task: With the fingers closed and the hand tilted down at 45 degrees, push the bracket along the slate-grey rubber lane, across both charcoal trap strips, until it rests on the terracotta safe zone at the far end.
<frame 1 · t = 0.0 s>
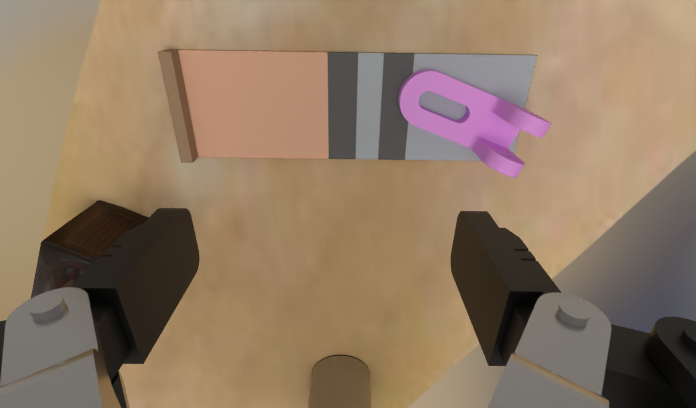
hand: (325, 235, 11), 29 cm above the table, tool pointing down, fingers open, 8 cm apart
pepper mill: (139, 231, 46), on the table
lane: (342, 108, 38), on the table
bracket: (456, 110, 38), touching lane
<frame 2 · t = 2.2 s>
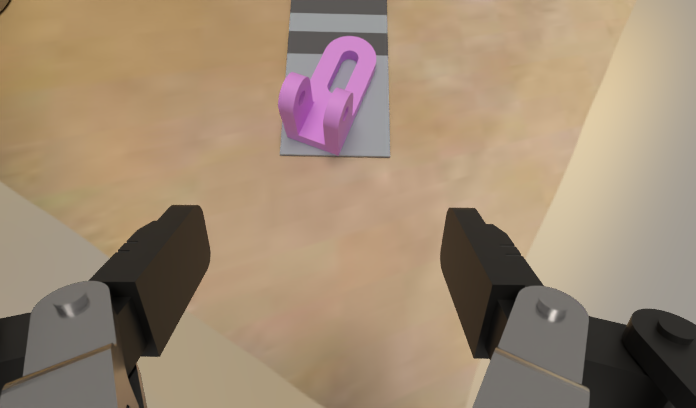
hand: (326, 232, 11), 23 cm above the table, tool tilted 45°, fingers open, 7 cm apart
lane: (339, 5, 42), on the table
bracket: (336, 95, 39), touching lane
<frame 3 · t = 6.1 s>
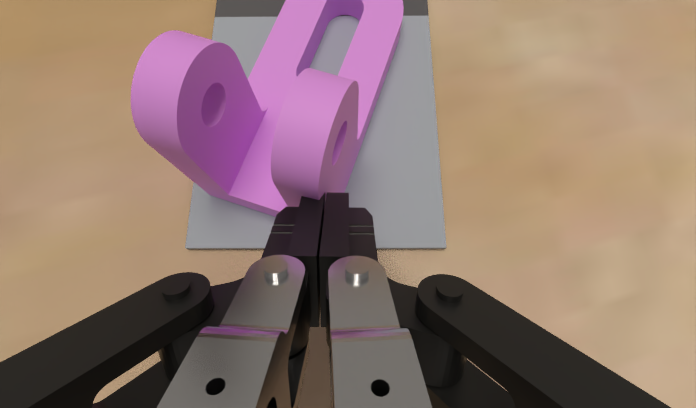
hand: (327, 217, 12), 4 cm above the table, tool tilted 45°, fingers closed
bracket: (320, 92, 18), touching gripper
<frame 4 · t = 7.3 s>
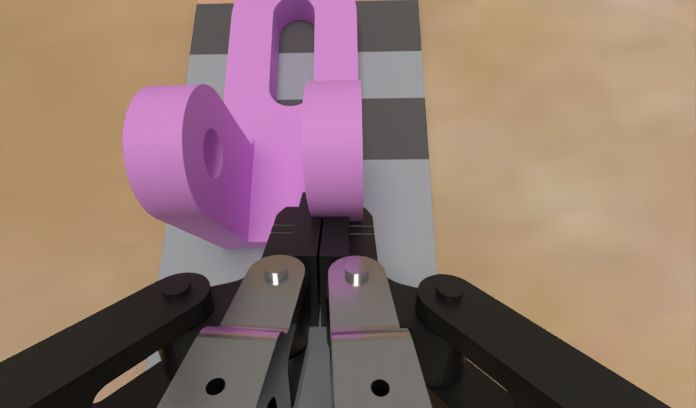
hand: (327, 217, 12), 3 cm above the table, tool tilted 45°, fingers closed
lane: (306, 31, 18), on the table
bracket: (297, 106, 17), touching gripper
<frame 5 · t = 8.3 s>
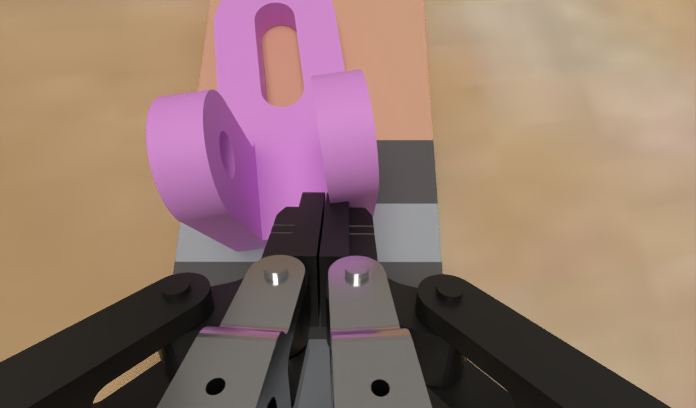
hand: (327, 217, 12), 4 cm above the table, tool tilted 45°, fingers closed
lane: (311, 173, 16), on the table
bracket: (288, 108, 17), touching gripper
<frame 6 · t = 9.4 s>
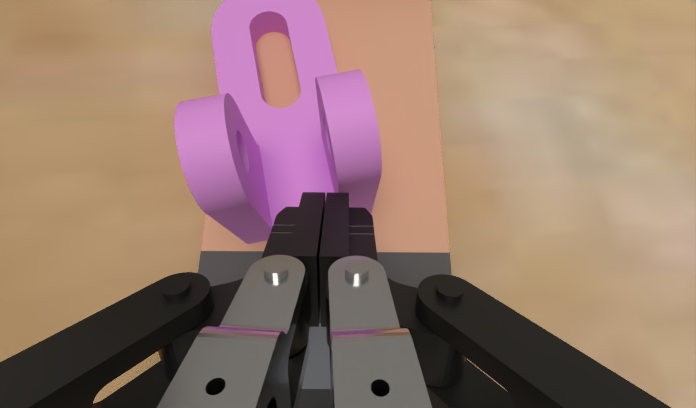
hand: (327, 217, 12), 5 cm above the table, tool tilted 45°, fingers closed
lane: (325, 286, 16), on the table
bracket: (285, 109, 18), touching gripper, lane
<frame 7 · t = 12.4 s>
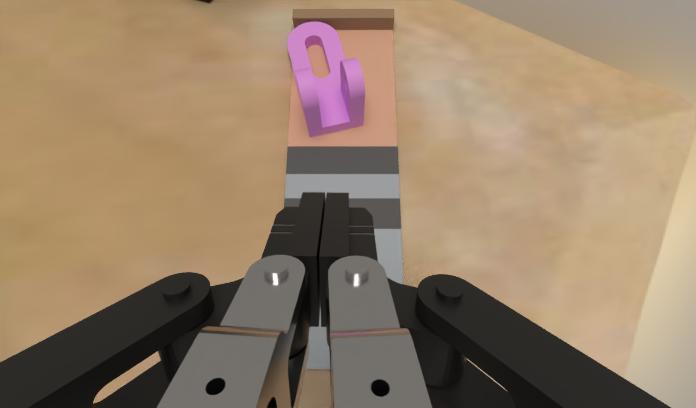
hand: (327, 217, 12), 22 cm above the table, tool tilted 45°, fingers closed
lane: (342, 161, 36), on the table
bracket: (322, 80, 39), touching lane
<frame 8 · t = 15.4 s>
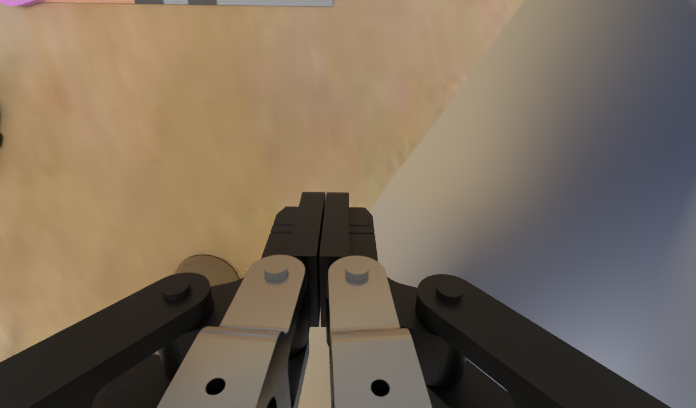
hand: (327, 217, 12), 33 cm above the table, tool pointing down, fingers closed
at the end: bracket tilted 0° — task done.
